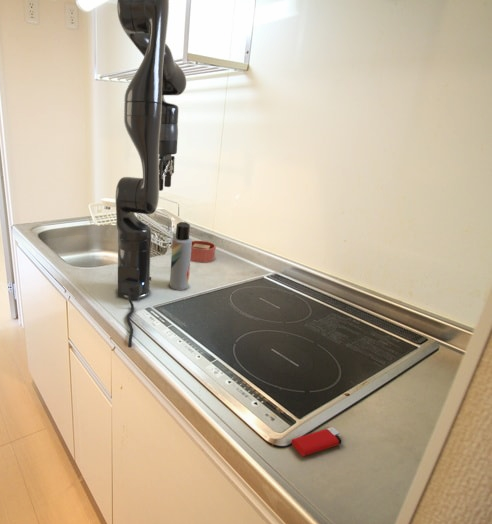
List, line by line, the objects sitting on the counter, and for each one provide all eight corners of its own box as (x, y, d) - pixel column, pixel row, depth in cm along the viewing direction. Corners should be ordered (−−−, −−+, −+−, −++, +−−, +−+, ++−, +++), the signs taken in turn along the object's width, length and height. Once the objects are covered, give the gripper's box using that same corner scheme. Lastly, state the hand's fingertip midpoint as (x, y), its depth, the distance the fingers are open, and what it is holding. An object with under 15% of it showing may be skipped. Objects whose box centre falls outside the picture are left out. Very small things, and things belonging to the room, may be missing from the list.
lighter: (292, 437, 56) (331, 425, 59) (290, 443, 57) (330, 431, 60) (305, 451, 54) (346, 438, 57) (303, 458, 54) (344, 444, 57)
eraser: (209, 255, 137) (210, 245, 136) (207, 258, 134) (208, 248, 132) (193, 253, 139) (194, 243, 138) (191, 256, 136) (192, 246, 134)
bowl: (211, 264, 131) (212, 251, 129) (182, 259, 134) (183, 246, 132) (216, 255, 140) (218, 242, 138) (190, 251, 143) (191, 239, 142)
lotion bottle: (187, 283, 114) (192, 221, 107) (188, 290, 109) (193, 226, 102) (169, 282, 114) (173, 220, 107) (169, 289, 109) (173, 225, 102)
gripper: (162, 137, 126) (160, 184, 132) (147, 138, 113) (146, 190, 119) (183, 138, 123) (179, 186, 129) (170, 139, 111) (167, 192, 117)
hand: (163, 188), depth 124 cm, fingers open, 8 cm apart
